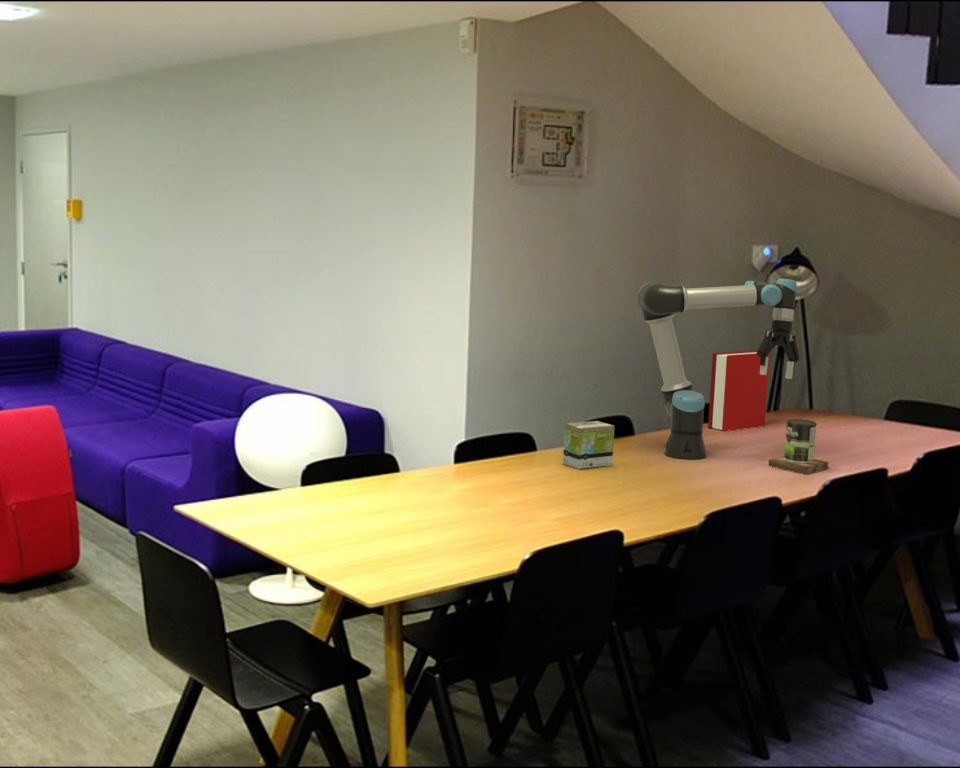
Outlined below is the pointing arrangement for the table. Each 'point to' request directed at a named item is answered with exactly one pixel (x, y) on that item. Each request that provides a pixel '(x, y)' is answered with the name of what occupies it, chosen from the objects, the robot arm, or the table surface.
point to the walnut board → (798, 465)
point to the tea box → (588, 444)
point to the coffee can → (800, 441)
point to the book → (737, 391)
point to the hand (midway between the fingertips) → (775, 376)
